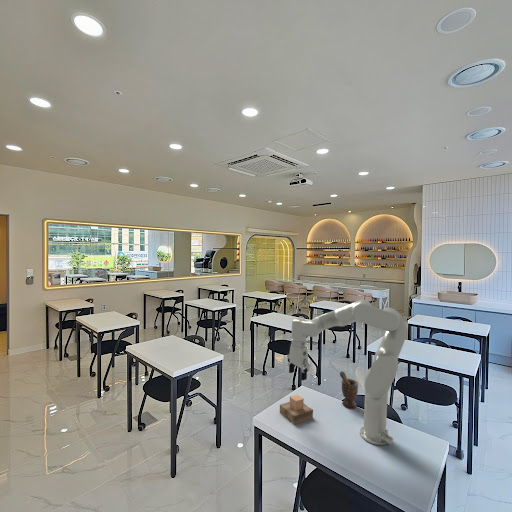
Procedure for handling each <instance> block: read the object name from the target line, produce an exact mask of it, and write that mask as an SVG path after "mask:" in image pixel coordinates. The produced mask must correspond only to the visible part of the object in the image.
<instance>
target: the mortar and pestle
mask: <svg viewBox="0 0 512 512" xmlns="http://www.w3.org/2000/svg"><path fill="white" fill-rule="evenodd" d="M339 376H340V378H341V392H342V396H343V397H344V399H343V400H342V402H341V403H342V405H343V407H344V408H347V409H355V408H357V403H356V401H355V400H354V399H356V398H357V396H358V393H359V392H358V391H359V382H358V381H357V380H355V379H351V378H348V377H347V374H346V373H345V371H340V372H339Z"/></svg>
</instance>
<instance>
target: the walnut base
mask: <svg viewBox="0 0 512 512" xmlns="http://www.w3.org/2000/svg"><path fill="white" fill-rule="evenodd" d="M279 413H280V414H281V415H282V417H283V416H284V417H285V418H286V419H287V420H288V421H289V422H290V423H291V424H293V425H297V424H300V423H302V422H305V421H308V420H311V419H313V417H314V410H313V409H312V408H311V407H309V406H308V405H306V404H305V403H304V402H303V409H300V410H297V411H295V410H294V409H292V408H291V407H290V401H287V402H285V403H281V404H279Z"/></svg>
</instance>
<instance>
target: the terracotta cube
mask: <svg viewBox="0 0 512 512" xmlns="http://www.w3.org/2000/svg"><path fill="white" fill-rule="evenodd" d="M304 399H305V398H303V397H302V396H300V395H299V394H294V395H292V396H289V402H290V407H291V408H292V409H294V410H295V411H297V410H300V409H303V403H304Z"/></svg>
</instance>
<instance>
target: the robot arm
mask: <svg viewBox="0 0 512 512" xmlns="http://www.w3.org/2000/svg"><path fill="white" fill-rule="evenodd" d="M356 322H361V323H363V324H366V325H369V326H371V327H374V328H376V329H379V330H382V331H384V333H383V336H382V339H381V342H380V344H379V346H378V348H377V350H376V352H375V354H374V358H373V361H372V364H371V367H370V368H368V370H367V371H366V373H365V378H364V407H363V408H364V412H363V426H362V427H360V429H359V435H360V436H361V438H363V440H365V441H366V442H368V443H370V444H372V445H376V446H377V445H378V446H385V445H387V444H389V445H390V446H392V445H393V444H394V443H393V441H394V437H393V436H391V435H389V430H388V429H387V416H388V414H387V413H388V410H387V409H388V392H389V391H390V388H391V386H392V383H393V382H394V380H395V377H396V375H397V372H398V370H399V369H398V368H399V362H398V361H399V356H400V354H401V351H402V348H403V346H404V343H405V341H406V337H407V327H406V326H407V325H406V323H405V320H404V318H403V316H402V314H400V312H398V311H397V310H396V309H395V308H392V307H385V308H379V307H377V306H374V305H372V304H371V302H370V301H368V300H366V299H359V300H357V301H354V302H351V303H349V304H347V305H344V306H342V307H339V308H337V309H334V310H331V311H329V312H326V313H324V314H321V315H319V316H316V317H314V318H312V319H310V321H307V320H306V319H304V318H301V317H296V318H293V319H292V320H291V339H290V340H291V341H290V342H291V344H290V347H289V353H288V354H286V357H287V361H288V373H289V374H292V373H295V367H298V368H300V369H301V374H300V377H301V378H300V380H301V381H306V380H307V379H308V378H307V377H308V372H309V371H310V369H311V365H310V363H309V353H308V346H307V337H311V338H315V337H316V338H317V337H318V336H319V334H321V332H324V331H326V330H328V329H330V328H333V327H345V326H348V325H350V324H354V323H356Z"/></svg>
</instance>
